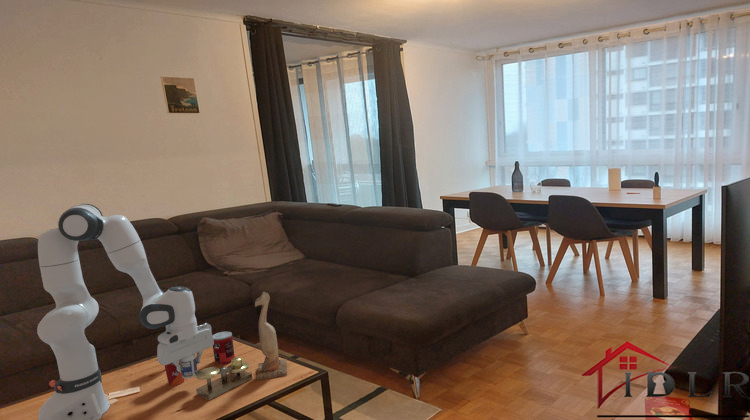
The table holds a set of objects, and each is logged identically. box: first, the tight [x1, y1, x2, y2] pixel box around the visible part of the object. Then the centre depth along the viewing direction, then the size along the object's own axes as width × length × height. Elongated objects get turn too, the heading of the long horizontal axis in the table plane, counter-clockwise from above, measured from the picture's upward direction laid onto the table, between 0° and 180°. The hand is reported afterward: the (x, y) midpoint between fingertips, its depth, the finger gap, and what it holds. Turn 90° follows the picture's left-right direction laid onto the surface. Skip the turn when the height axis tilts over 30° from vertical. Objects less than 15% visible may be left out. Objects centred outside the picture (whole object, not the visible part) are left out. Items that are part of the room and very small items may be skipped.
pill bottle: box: [180, 351, 198, 380], centre depth 177 cm, size 5×5×10 cm
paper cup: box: [164, 360, 185, 387], centre depth 183 cm, size 8×8×14 cm
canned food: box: [212, 331, 236, 365], centre depth 199 cm, size 8×8×11 cm
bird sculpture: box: [254, 291, 288, 381], centre depth 184 cm, size 11×12×32 cm
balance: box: [195, 356, 253, 401], centre depth 176 cm, size 20×8×8 cm, turn 140°
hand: (188, 367), depth 177 cm, fingers closed on pill bottle, 5 cm apart
